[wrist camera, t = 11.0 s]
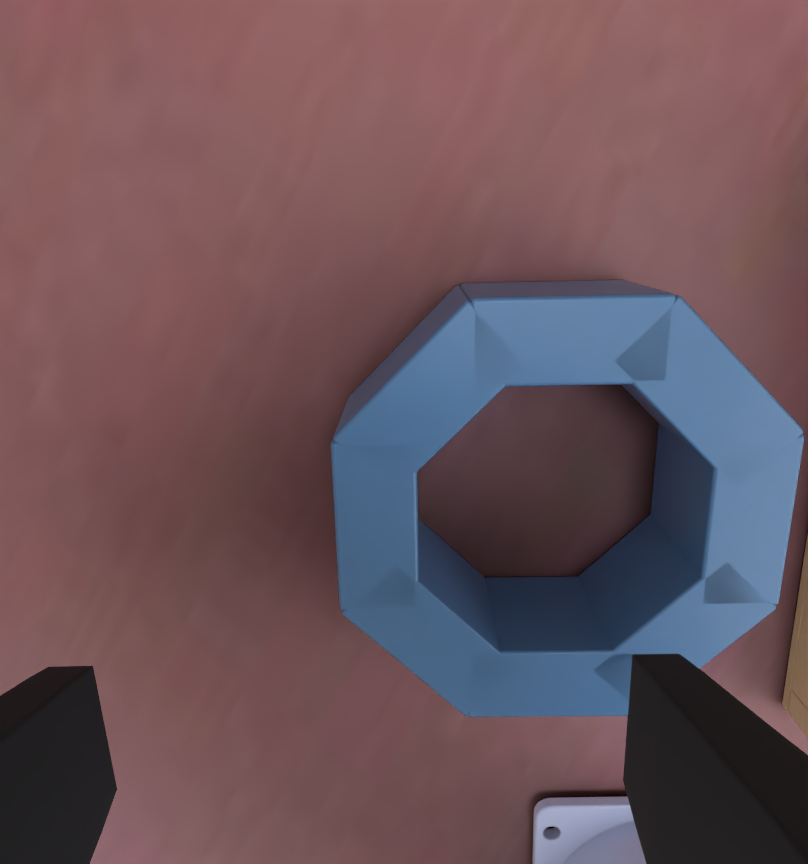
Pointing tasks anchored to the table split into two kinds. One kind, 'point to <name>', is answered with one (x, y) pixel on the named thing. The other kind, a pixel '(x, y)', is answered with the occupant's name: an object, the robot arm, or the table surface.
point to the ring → (621, 565)
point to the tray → (799, 658)
